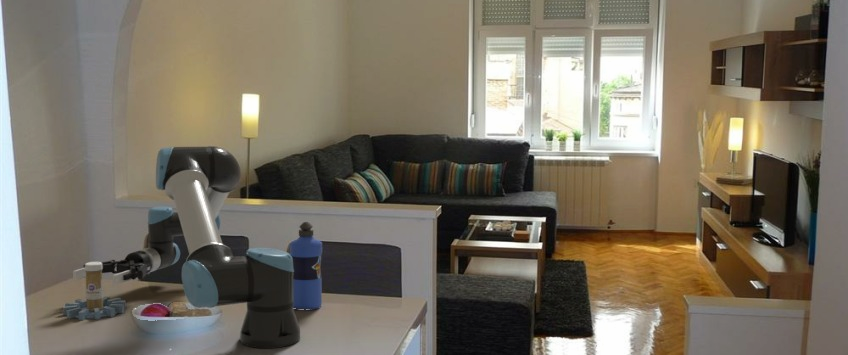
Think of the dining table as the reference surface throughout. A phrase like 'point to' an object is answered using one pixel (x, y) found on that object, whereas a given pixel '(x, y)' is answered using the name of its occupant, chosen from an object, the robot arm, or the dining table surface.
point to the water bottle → (306, 269)
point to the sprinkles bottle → (94, 285)
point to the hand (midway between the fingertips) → (93, 277)
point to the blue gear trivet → (82, 313)
